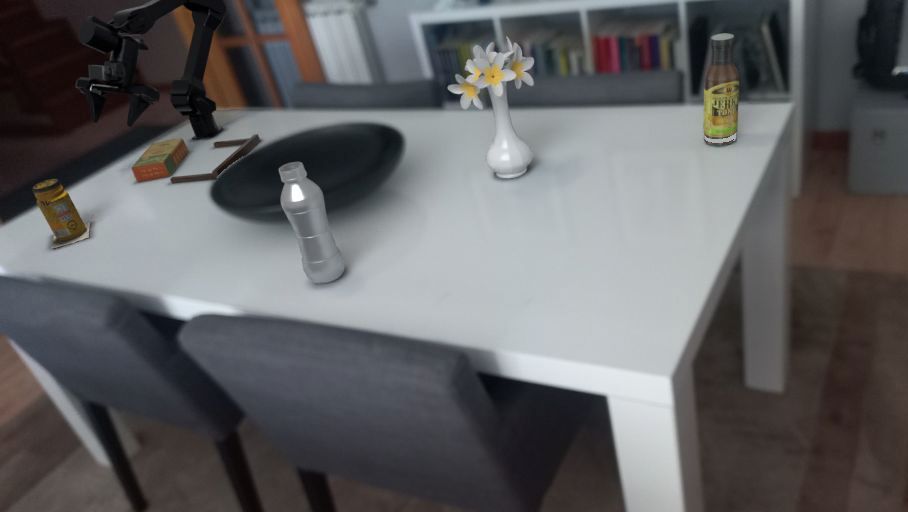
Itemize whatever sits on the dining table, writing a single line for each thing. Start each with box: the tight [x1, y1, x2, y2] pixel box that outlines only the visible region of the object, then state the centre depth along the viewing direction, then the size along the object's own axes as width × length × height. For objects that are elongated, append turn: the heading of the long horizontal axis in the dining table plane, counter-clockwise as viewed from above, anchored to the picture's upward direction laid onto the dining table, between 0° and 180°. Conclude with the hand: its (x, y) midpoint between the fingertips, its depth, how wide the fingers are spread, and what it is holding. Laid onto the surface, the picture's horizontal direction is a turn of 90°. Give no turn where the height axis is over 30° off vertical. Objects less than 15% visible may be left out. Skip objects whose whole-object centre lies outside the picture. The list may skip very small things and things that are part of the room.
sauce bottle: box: [702, 32, 740, 147], centre depth 134 cm, size 6×6×20 cm
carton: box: [131, 137, 189, 183], centre depth 182 cm, size 8×16×4 cm, turn 4°
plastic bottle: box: [278, 161, 346, 284], centre depth 115 cm, size 6×7×20 cm
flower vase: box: [447, 35, 535, 179], centre depth 137 cm, size 13×18×25 cm
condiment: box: [31, 178, 91, 249], centre depth 151 cm, size 7×8×12 cm
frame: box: [169, 133, 261, 184], centre depth 179 cm, size 22×13×2 cm, turn 171°
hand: (111, 124), depth 175 cm, fingers open, 9 cm apart
